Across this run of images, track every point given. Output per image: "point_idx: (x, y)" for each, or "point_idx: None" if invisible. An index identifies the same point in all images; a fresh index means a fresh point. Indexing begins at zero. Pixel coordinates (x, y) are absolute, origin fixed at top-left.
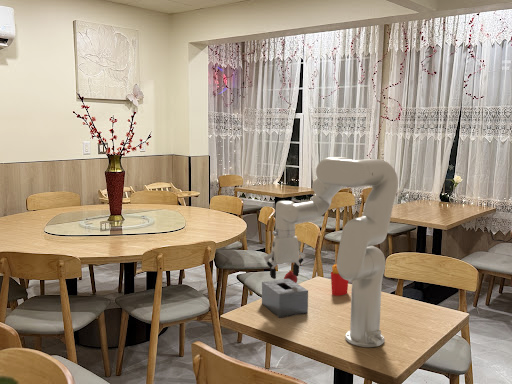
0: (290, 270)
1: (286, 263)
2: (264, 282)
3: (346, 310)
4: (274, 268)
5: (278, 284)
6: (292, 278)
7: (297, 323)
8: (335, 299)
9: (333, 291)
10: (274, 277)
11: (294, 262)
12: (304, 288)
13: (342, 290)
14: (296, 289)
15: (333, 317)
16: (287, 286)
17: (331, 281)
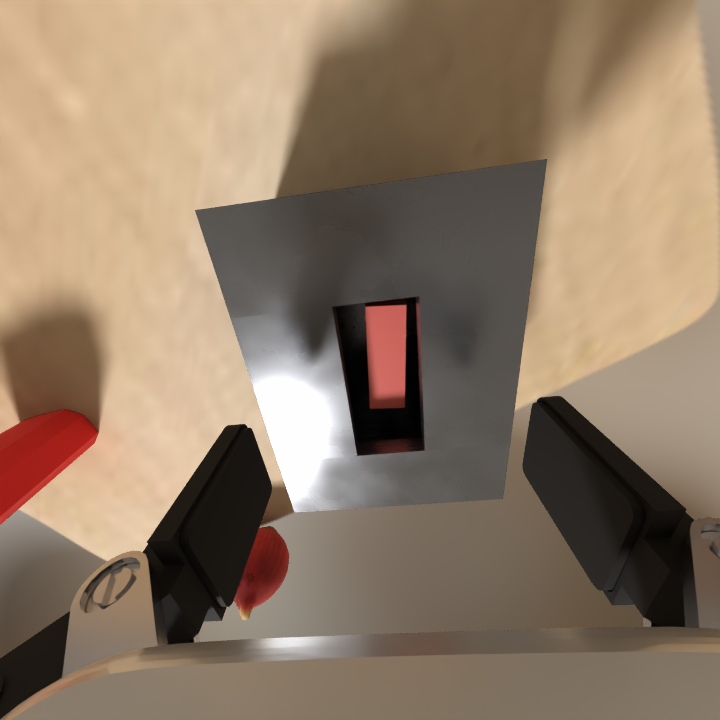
0: (244, 614)
1: (450, 632)
2: (491, 488)
3: (21, 197)
4: (650, 536)
5: (401, 446)
6: (250, 561)
7: (390, 36)
8: (84, 372)
9: (76, 434)
10: (567, 404)
11: (177, 646)
12: (223, 282)
13: (22, 427)
14: (308, 275)
15: (114, 86)
16: (349, 398)
17: (38, 481)
